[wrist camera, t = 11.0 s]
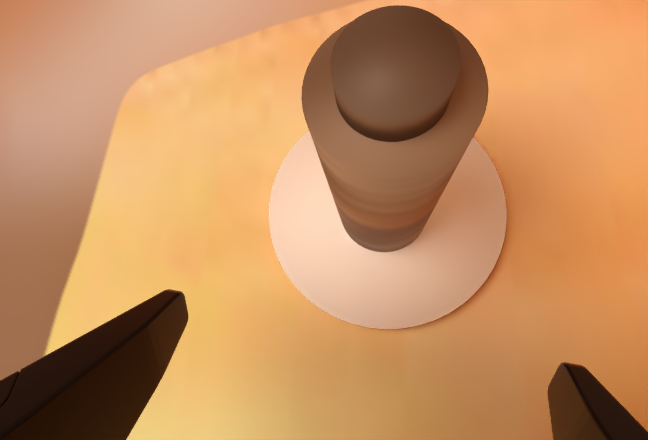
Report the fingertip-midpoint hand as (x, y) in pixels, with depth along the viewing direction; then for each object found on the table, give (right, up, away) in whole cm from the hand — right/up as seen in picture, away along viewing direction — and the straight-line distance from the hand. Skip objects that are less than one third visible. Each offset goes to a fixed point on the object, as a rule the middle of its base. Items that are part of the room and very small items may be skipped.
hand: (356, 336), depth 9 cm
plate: (+3, +3, +13) cm, 14 cm away
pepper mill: (+2, +3, +12) cm, 13 cm away
